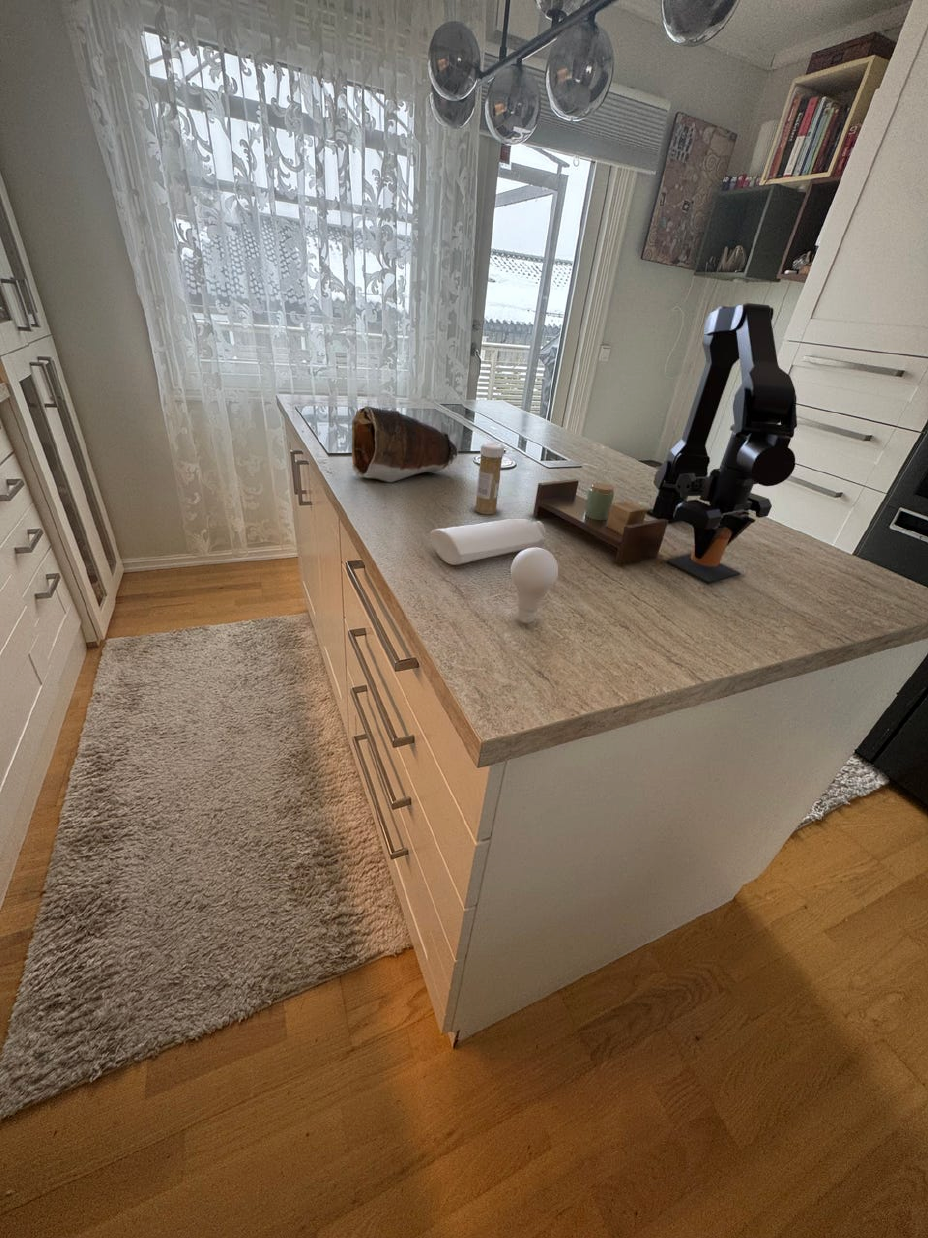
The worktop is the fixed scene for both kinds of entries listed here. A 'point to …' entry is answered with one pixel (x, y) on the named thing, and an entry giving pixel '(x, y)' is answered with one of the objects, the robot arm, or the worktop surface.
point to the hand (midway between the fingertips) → (706, 555)
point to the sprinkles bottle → (489, 477)
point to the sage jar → (599, 501)
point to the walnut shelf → (599, 522)
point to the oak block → (625, 515)
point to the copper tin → (714, 550)
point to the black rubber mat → (702, 569)
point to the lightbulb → (532, 580)
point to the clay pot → (397, 445)
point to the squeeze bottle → (486, 539)
